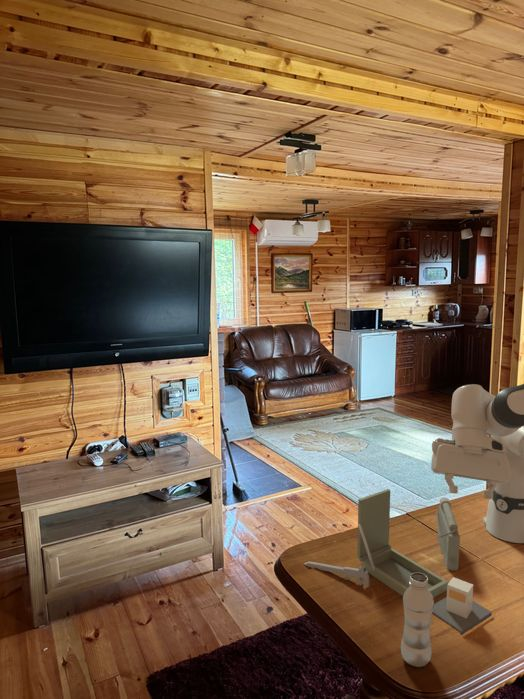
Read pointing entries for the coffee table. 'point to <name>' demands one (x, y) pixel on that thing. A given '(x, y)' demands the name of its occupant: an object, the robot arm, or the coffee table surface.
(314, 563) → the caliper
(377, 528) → the equipment case
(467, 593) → the block
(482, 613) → the rubber mat
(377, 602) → the coffee table surface
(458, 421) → the robot arm
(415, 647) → the plastic bottle
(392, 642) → the coffee table surface
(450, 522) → the geiger counter
